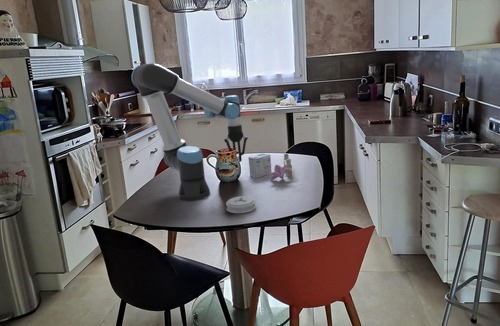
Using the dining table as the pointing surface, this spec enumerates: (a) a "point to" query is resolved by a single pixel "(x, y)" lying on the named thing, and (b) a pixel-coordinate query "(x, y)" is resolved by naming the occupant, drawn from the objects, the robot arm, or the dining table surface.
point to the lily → (279, 172)
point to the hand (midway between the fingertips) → (238, 167)
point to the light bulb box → (260, 165)
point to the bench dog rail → (288, 161)
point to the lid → (241, 204)
